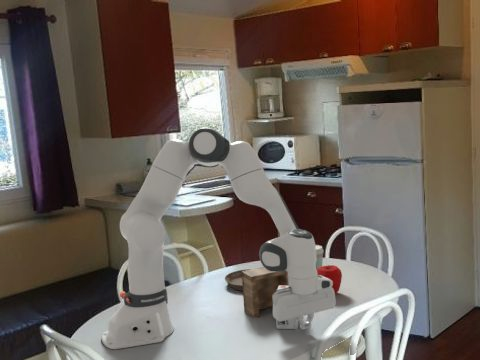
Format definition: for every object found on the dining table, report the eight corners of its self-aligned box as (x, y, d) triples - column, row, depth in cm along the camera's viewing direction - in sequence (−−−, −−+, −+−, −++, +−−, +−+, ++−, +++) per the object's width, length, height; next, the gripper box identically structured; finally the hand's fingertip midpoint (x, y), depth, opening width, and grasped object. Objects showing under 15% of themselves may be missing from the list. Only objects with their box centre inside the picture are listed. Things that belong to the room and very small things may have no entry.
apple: (330, 287, 214) (329, 259, 213) (348, 293, 206) (347, 264, 205) (310, 293, 209) (308, 264, 207) (327, 300, 201) (326, 270, 199)
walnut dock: (253, 317, 190) (251, 276, 188) (244, 311, 197) (241, 271, 195) (293, 308, 196) (291, 268, 194) (283, 301, 203) (280, 263, 201)
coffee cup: (299, 275, 231) (298, 246, 229) (319, 272, 233) (317, 243, 232) (308, 281, 223) (307, 251, 221) (328, 278, 225) (327, 248, 224)
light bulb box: (297, 329, 178) (295, 296, 177) (275, 329, 180) (273, 296, 178) (300, 316, 188) (299, 284, 187) (280, 316, 190) (278, 284, 188)
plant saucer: (279, 275, 234) (278, 267, 233) (277, 292, 214) (276, 284, 213) (228, 277, 236) (228, 269, 236) (221, 294, 216) (221, 285, 215)
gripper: (277, 294, 165) (280, 339, 167) (337, 280, 174) (339, 323, 176) (267, 288, 171) (270, 332, 173) (325, 274, 179) (328, 317, 181)
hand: (305, 328), depth 174 cm, fingers closed
